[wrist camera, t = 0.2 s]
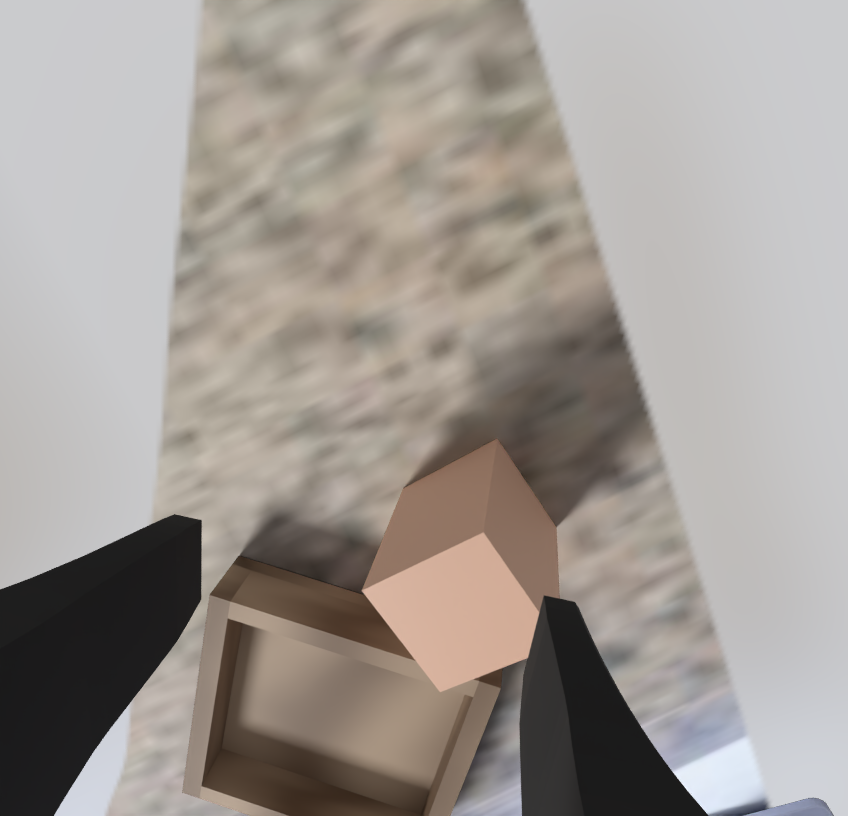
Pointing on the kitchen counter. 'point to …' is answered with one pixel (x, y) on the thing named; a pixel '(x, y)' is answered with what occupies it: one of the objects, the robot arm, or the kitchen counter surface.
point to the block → (466, 567)
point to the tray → (322, 706)
